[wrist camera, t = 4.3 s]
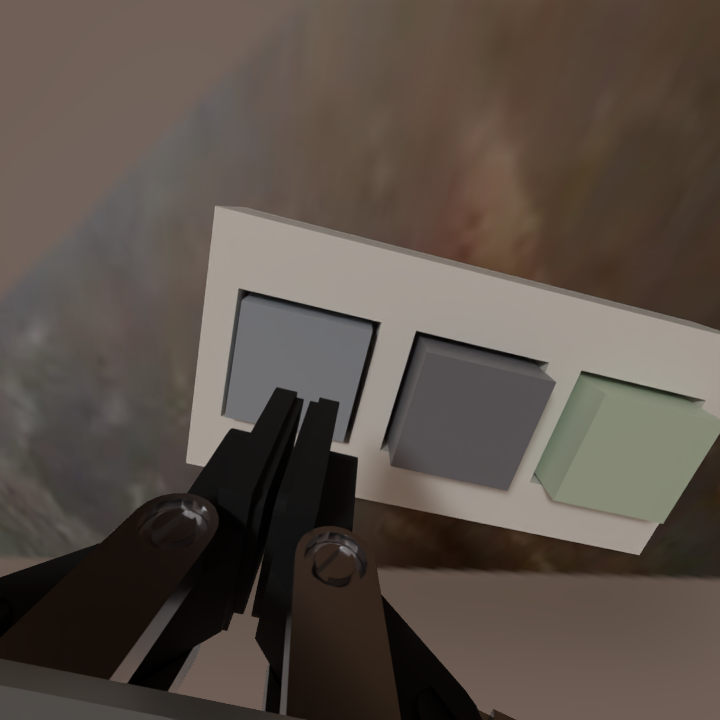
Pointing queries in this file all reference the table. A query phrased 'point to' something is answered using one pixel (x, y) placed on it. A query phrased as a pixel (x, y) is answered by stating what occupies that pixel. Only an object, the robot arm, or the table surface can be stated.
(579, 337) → the keypad
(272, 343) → the slate key
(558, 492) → the sage key
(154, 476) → the table surface
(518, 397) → the charcoal key
